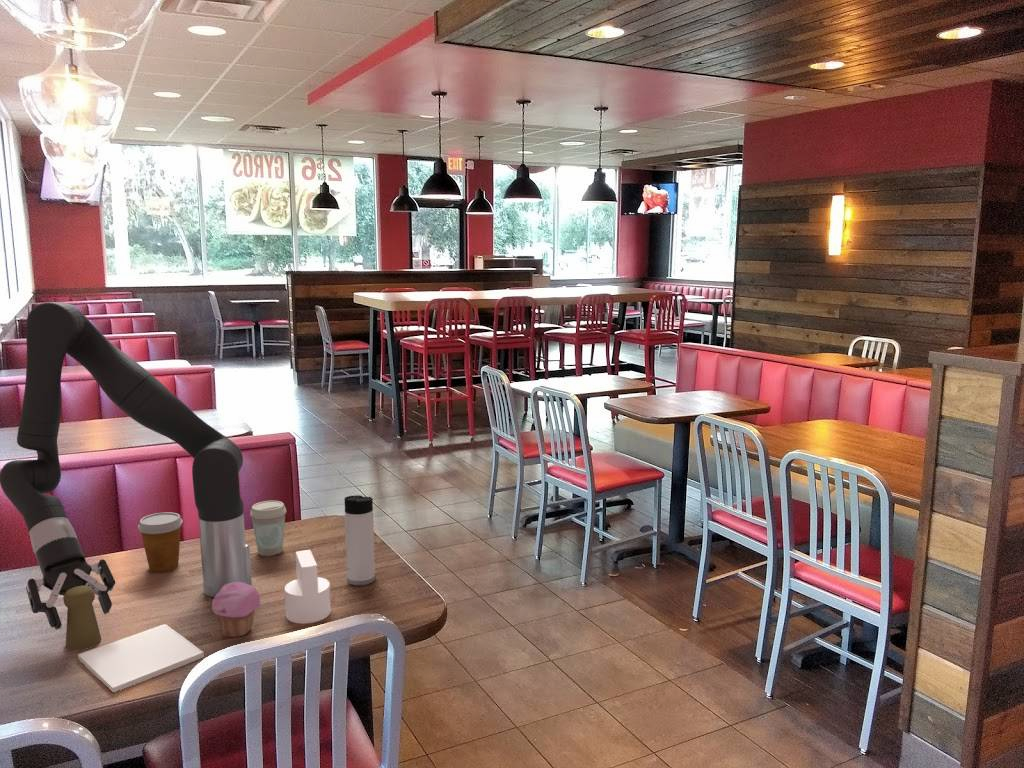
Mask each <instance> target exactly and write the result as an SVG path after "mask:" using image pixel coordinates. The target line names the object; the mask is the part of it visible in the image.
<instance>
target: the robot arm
mask: <svg viewBox="0 0 1024 768" xmlns="http://www.w3.org/2000/svg"><path fill="white" fill-rule="evenodd" d="M25 324H26V325H25V326H26V327H25V329H26V330H25V334H26V335H25V337H26V340H25V341H26V370H25V371H26V372H25V373H26V374H25V383H24V384H25V385H24V393H23V398H22V399H23V400H22V406H21V411H20V417H19V422H18V429H17V430H18V431H17V435H16V443H17V445H18V446H19V447H21V448H23V449H26V450H29V451H30V450H31V451H35V452H36V454H37V457H36V458H37V459H19V460H18V459H16V460H11V461H8V462H7V463H5V464H4V465H3V466H2V468H1V470H0V487H1V490H2V492H3V493H4V494H5V496H6V497H7V499H8V500H9V501H10V502H11V503H12V504H13V506H14V507H15V508H16V509H17V511H18V512H19V513H20V515H21V516H22V518H23V520H24V522H25V525H26V528H27V530H28V534H29V537H30V542H31V547H32V552H33V553H34V556H35V558H36V560H37V563H38V566H39V569H40V571H41V575H42V578H39V579H35V578H30V579H29V580H28V581H27V584H26V587H25V591H26V592H27V596H28V597H27V598H28V601H29V605H30V608H31V611H32V613H33V614H38V613H44V614H45V615H46V618H47V621H48V624H49V626H50V628H54V630H59V629H61V627H62V625H63V624H62V620H61V618H60V615H59V612H58V609H57V606H54V605H55V603H56V601H57V599H58V597H59V596H63V597H64V594H65V593H66V591H68V590H69V589H71V588H73V587H76V586H89V587H91V588H92V589H93V590H94V593H95V595H96V596H98V597H97V599H98V602H99V605H100V608H101V610H102V612H103V614H104V615H106V614H109V613H110V611H111V608H112V607H113V603H112V600H111V597H110V595H109V592H111V591H112V590H113V589H114V587H115V585H116V583H117V581H115V580H116V579H115V578H114V576H113V574H112V572H111V569H110V567H109V565H108V564H107V561H106V559H99V562H96V563H94V564H89V563H88V562H87V560H86V557H85V555H84V552H83V550H82V547H81V545H80V542H79V539H78V537H77V534H76V531H75V529H74V527H73V525H72V523H71V522H70V520H69V518H68V515H67V512H66V510H65V507H64V505H63V502H62V500H61V499H60V498H59V497H57V496H56V495H52V494H49V493H52V492H53V491H54V490H56V488H58V486H59V484H60V482H61V478H62V470H61V464H60V458H59V456H60V455H59V447H58V436H59V430H60V425H61V418H62V410H63V408H62V407H63V399H62V398H63V397H62V396H63V395H62V383H61V381H62V371H63V364H64V361H65V357H66V355H68V356H70V357H71V358H72V359H73V360H75V361H76V362H77V363H79V364H80V365H81V366H82V367H83V368H85V369H86V370H87V371H88V373H89V374H90V375H91V376H92V377H93V379H94V380H95V381H96V383H97V384H98V386H99V387H100V388H101V390H102V391H103V392H104V394H105V395H106V396H107V397H108V398H109V399H110V400H111V402H112V403H113V404H114V405H115V406H117V407H118V408H119V410H121V411H122V412H124V413H125V414H126V415H127V416H129V417H130V418H131V419H132V420H134V421H135V422H136V423H137V424H140V425H141V426H143V427H144V428H147V429H149V430H151V431H152V432H155V433H156V434H160V435H161V436H163V437H166V438H168V439H170V440H171V441H172V442H174V443H175V444H177V445H178V446H180V447H181V448H182V449H183V450H184V451H186V453H188V454H189V455H190V456H191V457H192V459H193V461H192V466H191V467H192V470H191V473H192V474H191V475H192V484H193V485H192V486H193V496H194V504H195V507H196V509H197V517H198V528H199V541H200V543H199V544H200V555H201V556H200V557H201V569H202V586H203V594H204V595H205V596H208V597H210V598H215V596H216V594H217V593H218V592H219V591H220V589H221V588H222V587H223V586H224V585H226V584H228V583H232V582H242V583H245V584H248V585H251V586H253V583H252V582H253V580H252V566H251V565H252V564H251V563H252V561H251V549H250V545H249V544H247V543H246V530H245V515H244V513H245V512H244V511H245V510H244V501H243V499H242V498H241V495H240V494H241V492H240V479H239V477H240V476H239V474H240V473H239V472H240V471H241V469H242V467H243V464H244V457H243V456H244V455H243V452H242V451H241V448H240V447H239V446H238V445H237V444H236V443H235V441H234V442H233V441H232V440H231V439H230V438H228V437H227V436H225V435H224V434H222V433H221V432H220V431H218V430H216V429H215V428H214V427H212V426H211V425H210V424H208V423H207V422H206V421H204V420H203V419H202V418H200V417H199V416H198V415H197V413H194V412H193V410H192V409H191V408H189V406H187V404H186V403H184V402H183V401H182V400H181V399H180V398H179V397H178V396H176V395H175V394H174V393H173V392H172V391H171V390H170V389H168V387H167V386H165V384H164V383H162V382H161V381H160V380H159V379H157V377H155V376H154V375H153V374H152V373H150V371H148V370H146V369H145V368H144V367H143V366H142V365H141V364H139V363H138V362H137V361H135V360H134V359H133V358H131V356H129V355H128V354H126V353H125V352H123V351H122V350H121V349H119V348H118V347H117V346H115V345H114V344H113V343H112V342H111V341H110V340H109V339H108V338H107V337H106V336H105V335H104V334H103V333H102V332H101V331H100V330H99V329H98V328H97V327H96V326H95V325H94V324H93V323H92V321H91V320H89V318H88V317H87V316H86V315H85V314H84V313H83V312H82V311H81V310H80V309H79V308H77V307H76V306H75V305H73V304H71V303H67V302H63V301H60V302H59V301H46V302H42V303H39V304H38V305H36V306H34V307H33V308H32V309H31V310H30V312H29V313H28V315H27V317H26V322H25ZM92 572H93V573H95V574H96V575H98V576H100V579H101V581H102V582H99V580H98V579H97V578H95V577H93V576H91V573H92ZM42 586H43V587H45V588H46V589H48V590H49V591H51V592H50V595H49V597H48V599H47V601H46V602H42V600H41V597H40V591H41V589H42Z"/></svg>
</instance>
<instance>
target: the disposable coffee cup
mask: <svg viewBox="0 0 1024 768" xmlns="http://www.w3.org/2000/svg"><path fill="white" fill-rule="evenodd" d="M183 521H184V520H183V518H181V515H180V514H179V513H176V512H170V511H169V512H167V511H165V512H158V513H157V512H155V513H152V514H147V515H145V516H143V517H142V518H141V519H140V520H139V524H138V526H137V529H139V531H140V534H141V537H142V543H143V548H144V552H145V556H146V561H147V564H148V565H147V566H148V569H149V571H151V572H154V573H164V572H169V571H172V570H174V569H176V568H178V567H179V560H180V559H179V558H180V544H181V543H180V542H181V528H182V524H183Z"/></svg>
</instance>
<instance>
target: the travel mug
mask: <svg viewBox="0 0 1024 768" xmlns="http://www.w3.org/2000/svg"><path fill="white" fill-rule="evenodd" d="M343 500H344V531H345V533H344V535H345V536H344V537H345V554H346V555H345V558H346V559H345V560H346V581H347V583H348V584H349V585H353V586H367V585H369V583H370V584H371V583H373V582H374V581H375V580H376V569H375V568H376V565H375V530H374V524H375V523H374V507H373V504H374V503H373V497H372V496H363V495H348V496H346V497H344V499H343ZM366 584H367V585H366Z"/></svg>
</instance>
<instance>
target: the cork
mask: <svg viewBox="0 0 1024 768" xmlns="http://www.w3.org/2000/svg"><path fill="white" fill-rule="evenodd" d="M95 595H96V594H95V593H94V590H93V589H92V588H91V587H89V586H76V587H73V588H71V589H69V590H68V591H66V593H65V594H64V596H63V599H62V600H63V603H64V606H65V607H66V608H67V614H66V615H67V616H66V632H65V634H66V635H65V648H66V649H67V650H68V651H74V650H77V651H84V650H87V649H86V648H88V649H90V647H91V648H93V647H95V646H97V645H99V643H101V641H102V636H101V633H100V627H99V625H98V620H97V617H96V613H95V609H94V605H93V602H94V601H95V597H96V596H95ZM96 644H97V645H96ZM92 646H93V647H92ZM83 649H84V650H83Z"/></svg>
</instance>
